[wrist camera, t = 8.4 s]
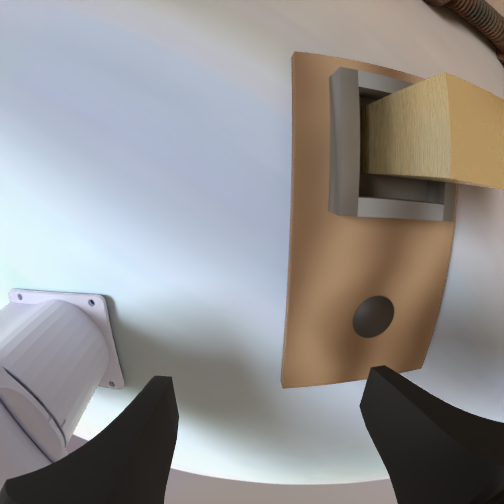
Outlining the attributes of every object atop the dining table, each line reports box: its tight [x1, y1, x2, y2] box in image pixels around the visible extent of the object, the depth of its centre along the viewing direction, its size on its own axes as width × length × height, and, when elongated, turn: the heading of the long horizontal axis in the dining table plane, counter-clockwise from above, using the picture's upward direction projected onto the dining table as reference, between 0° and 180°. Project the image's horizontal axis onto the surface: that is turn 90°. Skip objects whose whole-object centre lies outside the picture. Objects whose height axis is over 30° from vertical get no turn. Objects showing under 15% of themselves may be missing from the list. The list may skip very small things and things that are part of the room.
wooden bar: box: [361, 72, 504, 190], centre depth 12 cm, size 4×4×8 cm
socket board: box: [281, 52, 458, 388], centre depth 17 cm, size 12×22×3 cm, turn 179°
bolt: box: [425, 0, 504, 64], centre depth 12 cm, size 6×5×15 cm
